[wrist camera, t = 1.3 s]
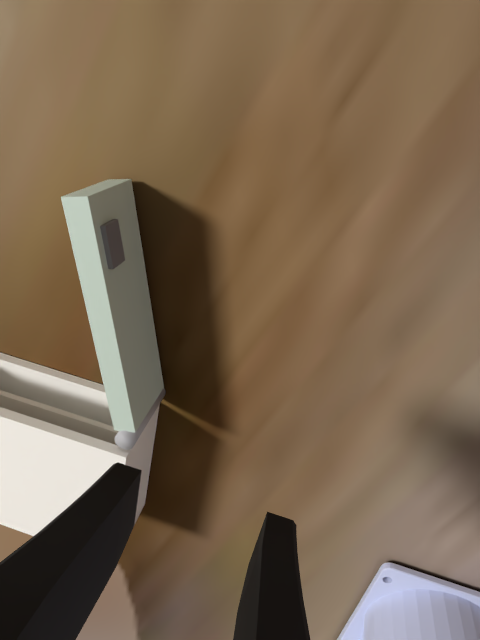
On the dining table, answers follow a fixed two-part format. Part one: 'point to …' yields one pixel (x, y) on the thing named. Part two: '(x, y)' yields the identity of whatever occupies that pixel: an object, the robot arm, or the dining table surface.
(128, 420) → the door
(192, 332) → the dining table surface
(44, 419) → the cabinet
